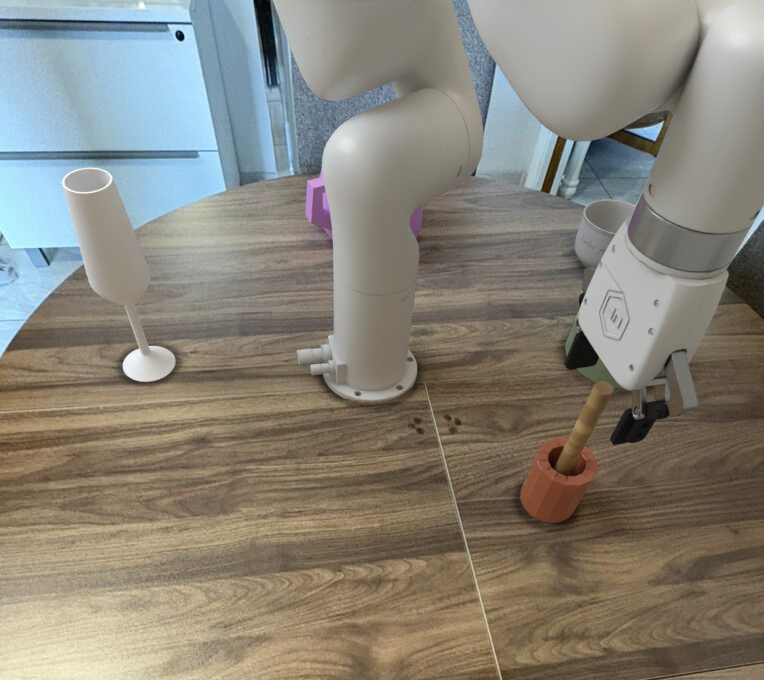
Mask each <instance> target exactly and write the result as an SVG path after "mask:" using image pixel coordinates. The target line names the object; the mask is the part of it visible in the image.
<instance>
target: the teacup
mask: <svg viewBox="0 0 764 680" xmlns="http://www.w3.org/2000/svg"><path fill="white" fill-rule="evenodd" d="M636 206H637V204H634V203H632V202H629V201H624V200H620V199H612V198H611V199H610V198H605V199H604V198H602V199H596V200H594V201H591V202H589V203H588V204H586V205H585V207H584V208H583V210H582V215H581V219H580V222H579V225H578V229H577V232H576V236H575V240H574V251H575V254H576V256H577V258H578V259H579V260H580V262H581V263H582V265H583V266H584V267H585V268H592V267H598V265H599V263H600V261H601V259H602V257H603V255H604V253H605V251H606V250H607V248H608V246H609V244H610V242H611V241H612V239H613V238H614V236H615V234H616V233H617V231H618V230H619V228H620V227H621V225H622V224H623V223H624V221H625V220H626V219H627V218H628V217H630V216H632V215H633V214H634V211H635V209H636Z"/></svg>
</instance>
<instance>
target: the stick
mask: <svg viewBox="0 0 764 680" xmlns="http://www.w3.org/2000/svg"><path fill="white" fill-rule="evenodd" d="M614 391H615V388H613V387H612V385H611V384H609V383H608V382H605V381H599V382H594V384H593V386H592V388H591V391H590V393H589V394H588V397H587V399H586V401H585V403H584V405H583V407H582V409H581V411H580V413H579V416H578V418H577V420H576V422H575V424H574V426H573V428H572V429H571V432H570V434H569V436H568V437H567V438H568V440H567V442H566V444H565V446H564V449H563V451H562V453H561V455H560V457H559V459H558V461H557V463H556V465H555V467H554V470H555V471H556V472H558V473H560V474H562V475H565V476H569V475H570V473H571V471H572V469H573V468H574V466H575V464H576V462H577V460H578V458H579V456H580V454H581V452H582V450H583V449H584V447H585V446H586V445H587V443H588V441H589V439H590V437H591V435H592V433H593V432H594V429H595V428H596V426H597V424H598V422H599V420H600V418H601V416H602V414H603V412H604V411H605V409H606V407H607V405H608V403H609V401H610V399H611V397H612V395H613V393H614Z"/></svg>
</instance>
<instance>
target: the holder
mask: <svg viewBox="0 0 764 680" xmlns="http://www.w3.org/2000/svg"><path fill="white" fill-rule="evenodd" d="M568 438H569V437H553V438H551V439H548V440H546V441H544V442H543V443H542V444H541V445H540V446H539V448H538V449H537V451H536V453H535V454H534V457H533V460H532V463H531V465H530V467H529V469H528V472H527V474H526V476H525V479H524V480H523V483H522V486H521V488H520V495H519V500H520V502H521V505H522V507H523V508H524V510H525V511H526V512H527V513H528V514H529V515H530V516H531V517H532V518H534V519H536V520H538V521H540V522H544V523H551V524H552V523H553V524H555V523H561V522H564V521H566V520H567V519H570V518H571V517H572V515H573V514H574V512H575V511H576V509H577V508H578V506H579V504H580V502H581V501H582V499H583V498H584V495H585V494H586V492H587V491H588V489H589V487H590V485H591V484H592V482H593V481H594V478H595V477H596V475H597V473H598V460H597V459H596V457H595V455H594V453H593V451H592V450H591V449H590V448H589V447H587V446H586V445H585V447H584V449H583V450H582V452H581V454H580V456H579V458H578V460H577V462H576V464H575V466H574V468H573V469H572V471H571V473H570V475H569V476H565V475H562V474H560V473H558V472H556V471H555V470H554V467H555V465H556V463H557V461H558V459H559V457H560V455H561V453H562V451H563V449H564V446H565V444H566V442H567V440H568Z"/></svg>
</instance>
